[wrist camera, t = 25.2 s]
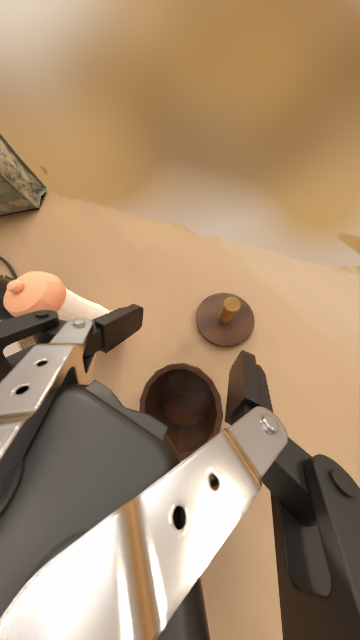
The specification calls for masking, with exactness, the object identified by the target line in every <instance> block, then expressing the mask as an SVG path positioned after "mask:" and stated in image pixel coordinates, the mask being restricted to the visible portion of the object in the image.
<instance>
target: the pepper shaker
mask: <svg viewBox="0 0 360 640" xmlns="http://www.w3.org/2000/svg"><path fill="white" fill-rule="evenodd" d="M3 303H4V307H5V308H6V309H7V310H8V312H9V313H10V314H11V315H12V316H14V317H17V316H21V315H24V314H28V313H31V312H35V311H40V310H52V311H56V312H57V313H58V316H59V319H61V320H65V321H69V320H71V319H75V318H88V319H90V320H93V319H95V318H97V317H100V316H102V315H104V314H107V313H109V312H112V311H111V310H107V309H105V308H104V307H102V306H101V305H98V304H96V303H93V302H91V301H88V300H85V299H83V298H81V297H80V296H78V295H76V294H74V293H73V292H71V291H69V290H67V289H66V288H65V285H64V284H63V282H62V281H61V280H60V279H59V278H58V277H57V276H55V275H53V274H50V273H46V272H39V271H35V272H29V273H26V274H24V275H22V276H20V277H19V278H17V279H16V280H13V281H11V282H9V283H8V285H7V290H6V293H5V295H4V300H3Z"/></svg>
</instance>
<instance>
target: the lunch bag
mask: <svg viewBox="0 0 360 640" xmlns="http://www.w3.org/2000/svg"><path fill="white" fill-rule="evenodd" d="M46 191H47V188H46V187H45V185H44V184H43V183H42V182H41V181H40V180H39V179H38V178H37V176H36V175H35V174H34V173H33V172H32V171H31V170H30V169H29V168H28V166H27V165H26V164H25V163H24V162H23V161H22V160H21V158H20V157H19V156H18V155H17V154H16V153H15V151H14V150H13V149H12V147H11V146H10V145H9V144H8V143H7V141H6V140H5V139H4V138H3V136H2V135H1V134H0V215H4V214H9V213H14V212H19V211H25V210H29V209H34V208H39V207H40V200H41V196H42V195H43V194H44V193H45V192H46Z"/></svg>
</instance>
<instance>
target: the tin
mask: <svg viewBox="0 0 360 640" xmlns="http://www.w3.org/2000/svg"><path fill="white" fill-rule="evenodd" d="M140 412H142V413H146V414H149V415H150V416H152V417H154V418H155V419H157V420H158V421H160V422H161V423H163V424H164V425H166V426H168V427H169V428H168V430H167V433H166V435H167V436H168V437H169V438H170V440H171V441H172V443H173V445H174V446H175V448H176V450H177V453H178V455H179V458H180V461H183V460H185V459H186V458H187V457H189V456H190V455H191V454H193V453H194V452H195V451H196V450H198V449H199V448H200V447H202V446H203V445H204V444H206V443H207V442H208V441H210V440H211V439H212V438H213V437H215V436H216V435H217V434H219V432H220V428H221V423H222V418H223V411H222V405H221V398H220V394H219V393H218V391H217V389H216V387H215V385H214V383H213V381H212V380H211V378H209V377H208V376H207V375H206V374H205V373H204V372H203V371H202V370H201V369H200V368H198V367H196V366H193V365H190V364H186V363H181V364H170V365H167V366H166V367H164V368H162V369H160V370H158V371H156V372H155V374H154V375H153V376H152V377H151V378H150V379H149V381H148V382H147V383H146V385H145V388H144V390H143V393H142V396H141V398H140Z"/></svg>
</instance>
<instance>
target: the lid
mask: <svg viewBox="0 0 360 640" xmlns="http://www.w3.org/2000/svg"><path fill="white" fill-rule="evenodd" d="M196 322H197V326H198V329H199V331H200V332H201V334H202V335H203V336H204V337H205V338H206V339H207V340H208V341H210V342H212V343H214V344H216V345H220V346H233V345H237V344H239V343H241V342H243V341H244V340H245V339H247V338H248V336H249V335H250V334H251V332H252V330H253V327H254V316H253V312H252V310H251V308H250V307H249V305H248V304H247V303H246V302H245V301H244V300H243V299H241V298H240V297H238V296H236V295H233V294H228V293H218V294H214V295H212V296H209V297H208V298H206V299H205V300H204V301H203V302H202V303H201V304H200V306H199V308H198V310H197V314H196Z"/></svg>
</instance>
